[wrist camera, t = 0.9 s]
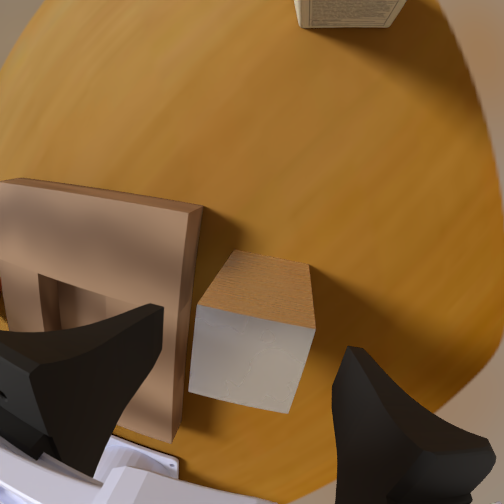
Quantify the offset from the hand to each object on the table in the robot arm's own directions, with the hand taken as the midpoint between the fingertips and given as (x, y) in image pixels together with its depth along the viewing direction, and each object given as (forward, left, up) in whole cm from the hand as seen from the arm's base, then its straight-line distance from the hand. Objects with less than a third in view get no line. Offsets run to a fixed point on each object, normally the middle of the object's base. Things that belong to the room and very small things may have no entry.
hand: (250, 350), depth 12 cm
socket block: (-4, +11, -6) cm, 13 cm away
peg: (0, 0, -6) cm, 6 cm away
